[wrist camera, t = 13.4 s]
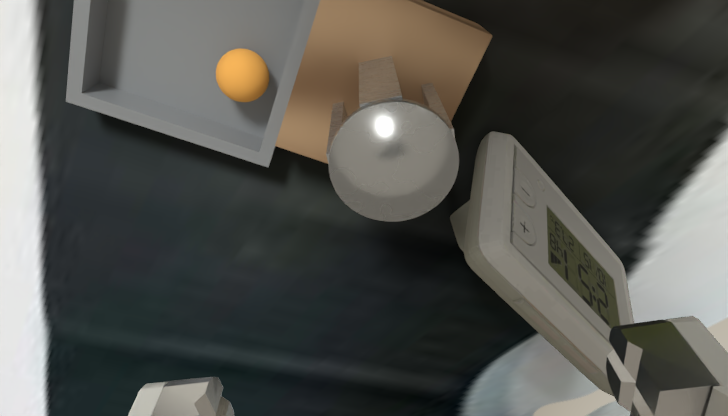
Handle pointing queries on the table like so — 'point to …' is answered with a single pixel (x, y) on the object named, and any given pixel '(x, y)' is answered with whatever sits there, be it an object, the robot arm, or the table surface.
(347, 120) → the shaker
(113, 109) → the tray
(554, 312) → the digital clock
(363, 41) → the stand
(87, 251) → the table surface
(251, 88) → the ball
